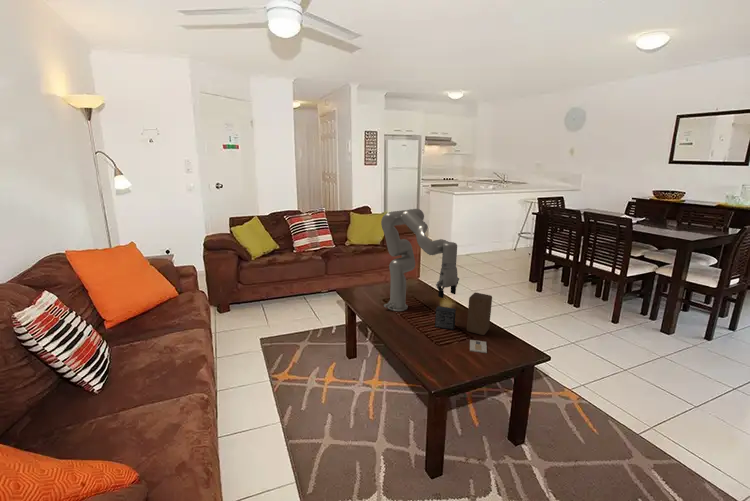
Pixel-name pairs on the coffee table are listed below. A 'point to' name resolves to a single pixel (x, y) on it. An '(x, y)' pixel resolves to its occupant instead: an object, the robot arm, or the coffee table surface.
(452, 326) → the small box
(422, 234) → the robot arm
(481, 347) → the card
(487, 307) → the wooden block
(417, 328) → the coffee table surface
